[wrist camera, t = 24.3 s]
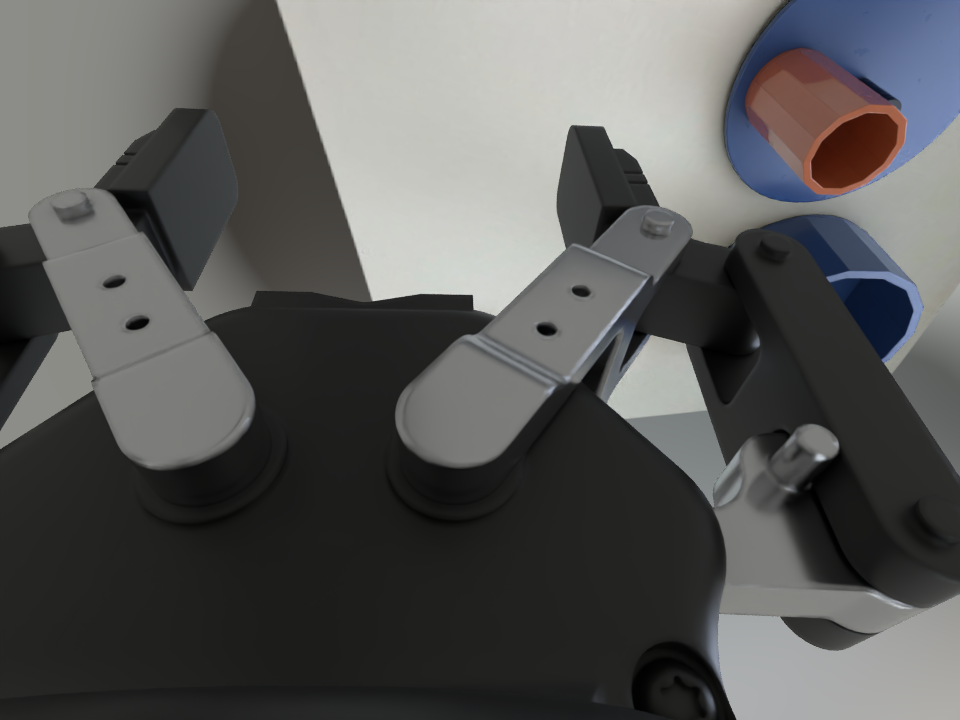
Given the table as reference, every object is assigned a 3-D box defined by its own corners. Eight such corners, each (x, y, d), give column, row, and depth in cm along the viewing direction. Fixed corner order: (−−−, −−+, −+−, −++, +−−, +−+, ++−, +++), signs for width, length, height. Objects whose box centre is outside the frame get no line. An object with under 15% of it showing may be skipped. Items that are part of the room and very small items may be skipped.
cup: (765, 45, 37) (834, 102, 31) (843, 49, 38) (928, 107, 31) (731, 127, 42) (786, 193, 35) (802, 130, 42) (869, 196, 35)
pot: (729, 211, 49) (767, 268, 43) (910, 216, 50) (969, 273, 44) (669, 345, 62) (691, 402, 56) (813, 346, 63) (849, 403, 57)
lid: (790, -80, 33) (831, -64, 30) (1066, -61, 35) (1136, -43, 31) (688, 192, 47) (707, 225, 44) (887, 198, 48) (922, 231, 45)
